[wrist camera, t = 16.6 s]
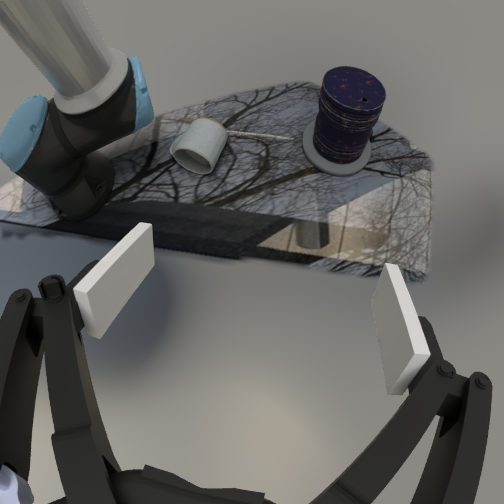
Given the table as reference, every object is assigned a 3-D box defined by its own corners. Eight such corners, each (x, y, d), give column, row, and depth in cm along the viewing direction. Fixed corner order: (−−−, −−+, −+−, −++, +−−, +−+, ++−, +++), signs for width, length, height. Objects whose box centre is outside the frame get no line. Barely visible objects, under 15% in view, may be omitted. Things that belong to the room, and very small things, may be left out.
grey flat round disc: (289, 132, 56) (290, 127, 54) (345, 113, 56) (347, 109, 55) (324, 186, 52) (325, 182, 51) (381, 163, 53) (384, 159, 52)
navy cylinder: (303, 128, 54) (310, 70, 40) (348, 117, 54) (365, 62, 40) (325, 171, 51) (341, 116, 37) (373, 158, 52) (399, 105, 37)
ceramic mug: (232, 142, 55) (227, 117, 48) (216, 178, 54) (208, 155, 46) (182, 132, 57) (172, 107, 50) (164, 166, 55) (151, 143, 48)
